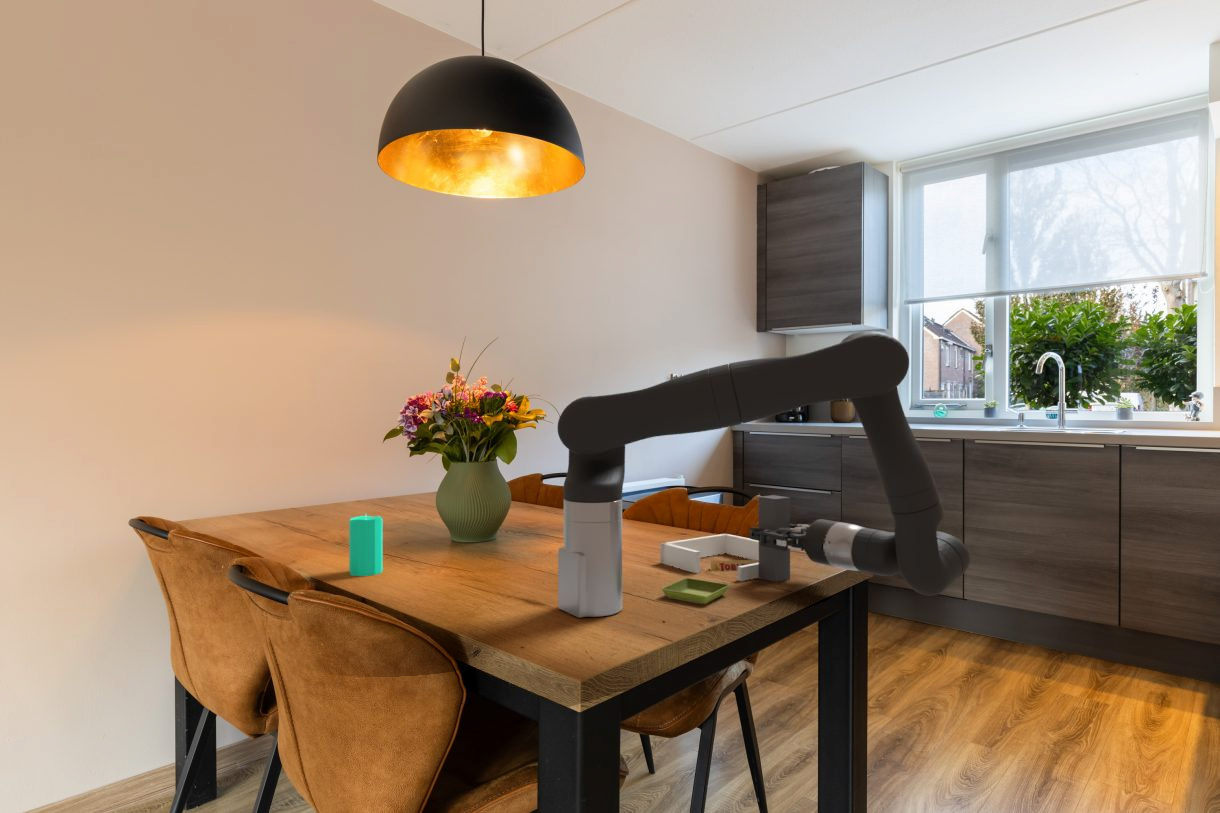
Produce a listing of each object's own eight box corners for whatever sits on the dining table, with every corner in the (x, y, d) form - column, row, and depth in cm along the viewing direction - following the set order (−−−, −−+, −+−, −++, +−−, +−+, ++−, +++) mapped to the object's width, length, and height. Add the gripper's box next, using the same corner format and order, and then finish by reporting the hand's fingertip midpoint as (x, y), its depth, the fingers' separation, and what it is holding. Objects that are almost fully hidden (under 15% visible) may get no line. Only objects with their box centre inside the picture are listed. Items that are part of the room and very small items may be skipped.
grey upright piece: (758, 585, 122) (758, 501, 122) (737, 580, 126) (737, 498, 126) (805, 575, 130) (805, 495, 130) (785, 570, 134) (785, 492, 134)
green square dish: (706, 609, 109) (706, 596, 109) (659, 600, 114) (659, 588, 114) (730, 596, 116) (730, 584, 116) (685, 589, 121) (685, 577, 121)
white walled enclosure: (695, 573, 131) (695, 552, 131) (660, 563, 140) (660, 543, 140) (762, 560, 142) (762, 541, 142) (725, 551, 150) (725, 533, 150)
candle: (372, 576, 129) (372, 512, 129) (343, 575, 130) (343, 511, 130) (388, 569, 135) (388, 507, 135) (359, 568, 136) (359, 507, 136)
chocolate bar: (708, 571, 135) (708, 559, 135) (768, 569, 136) (768, 558, 136) (711, 574, 132) (711, 562, 132) (772, 572, 134) (772, 561, 134)
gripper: (866, 518, 120) (790, 507, 133) (812, 526, 112) (738, 513, 125) (866, 561, 120) (790, 546, 133) (812, 573, 112) (738, 555, 125)
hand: (765, 530), depth 129 cm, fingers open, 7 cm apart
